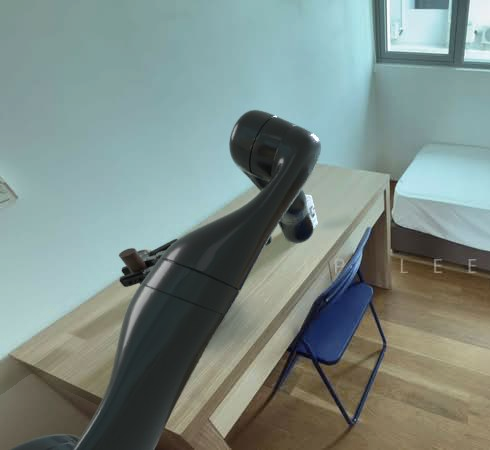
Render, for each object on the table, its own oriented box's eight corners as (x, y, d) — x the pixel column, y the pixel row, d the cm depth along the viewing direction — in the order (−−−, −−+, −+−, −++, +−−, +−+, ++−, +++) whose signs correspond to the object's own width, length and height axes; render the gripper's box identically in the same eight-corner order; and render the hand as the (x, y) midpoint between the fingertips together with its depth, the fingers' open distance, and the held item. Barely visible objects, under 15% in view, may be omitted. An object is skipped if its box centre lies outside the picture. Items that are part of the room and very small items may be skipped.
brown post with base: (170, 314, 65) (131, 260, 56) (145, 315, 65) (103, 262, 56) (183, 295, 69) (149, 243, 60) (160, 296, 69) (123, 244, 60)
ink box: (290, 228, 110) (282, 200, 103) (297, 221, 114) (289, 193, 107) (312, 231, 108) (305, 202, 102) (318, 223, 112) (312, 194, 106)
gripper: (210, 217, 70) (116, 244, 63) (216, 249, 60) (105, 286, 53) (222, 242, 74) (136, 271, 67) (230, 277, 64) (129, 314, 57)
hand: (123, 277), depth 60 cm, fingers closed on brown post with base, 2 cm apart
